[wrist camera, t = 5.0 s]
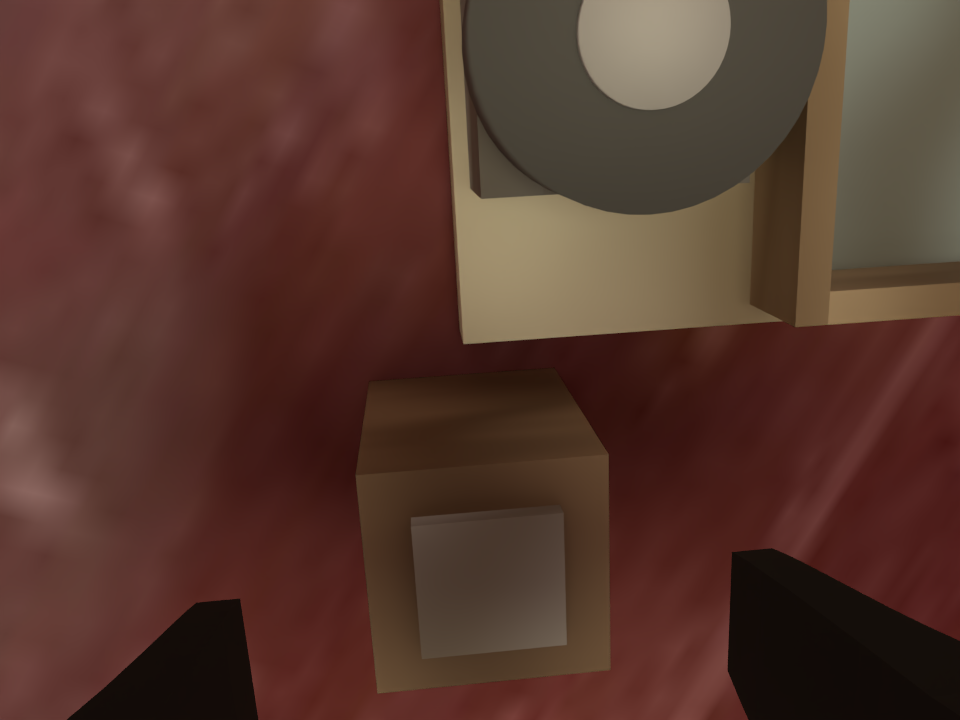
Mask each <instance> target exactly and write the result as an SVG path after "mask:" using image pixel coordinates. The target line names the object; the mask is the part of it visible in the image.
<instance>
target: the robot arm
mask: <svg viewBox="0 0 960 720" xmlns="http://www.w3.org/2000/svg"><path fill="white" fill-rule="evenodd" d="M728 672H729V675H730V677H731V680H732V682H733V685H734V687H735V689H736V692H737V694H738V697H739V699H740V701H741V704H742V706H743V708H744V711H745V713H746V715H747V717H748V719H749V720H960V641H958V640H956V639H954V638H952V637H950V636H947V635H945V634H943V633H941V632H939V631H937V630H934V629H932V628H930V627H928V626H926V625H924V624H922V623H919V622H917V621H915V620H913V619H911V618H909V617H907V616H905V615H903V614H901V613H899V612H897V611H895V610H893V609H891V608H889V607H887V606H885V605H883V604H881V603H879V602H877V601H875V600H874V599H872V598H870V597H868V596H866V595H864V594H862V593H860V592H858V591H856V590H854V589H852V588H851V587H849V586H847V585H845V584H843V583H841V582H839V581H837V580H835V579H834V578H832V577H830V576H828V575H826V574H824V573H822V572H820V571H818V570H816V569H815V568H813V567H811V566H809V565H807V564H805V563H803V562H801V561H799V560H797V559H795V558H793V557H791V556H789V555H786V554H784V553H782V552H779V551H777V550H775V549H772V548H771V549H761V550H750V551H740V552H732V569H731V596H730V622H729V649H728ZM67 720H258V715H257V708H256V702H255V695H254V689H253V682H252V675H251V669H250V662H249V656H248V649H247V642H246V636H245V629H244V623H243V616H242V609H241V603H240V599H232V600H221V601H211V602H200V603H196V604H194V605H193V606H192V607H191V608H190V609H189V610H187V611H186V612H185V613H184V614H183V615H182V616H181V617H180V618H179V619H178V620H177V621H175V622H174V623H173V624H172V625H171V626H170V627H169V628H168V629H167V630H166V631H165V632H164V633H163V634H162V635H161V636H160V637H159V638H158V639H157V640H155V641H154V642H153V643H152V644H151V645H150V646H149V647H148V648H147V649H146V650H145V651H144V652H143V653H142V654H141V655H140V656H138V657H137V658H136V659H135V660H134V661H133V662H132V663H131V664H130V665H129V666H128V667H127V668H125V669H124V670H123V671H122V672H121V673H120V674H119V675H118V676H117V677H116V678H115V679H114V680H113V681H111V682H110V683H109V684H108V685H107V686H106V687H105V688H104V689H103V690H101V691H100V692H99V693H98V694H97V695H95V696H94V697H93V698H92V699H91V700H90V701H88V702H87V703H86V704H85V705H84V706H82V707H81V708H80V709H79V710H78V711H77V712H75V713H74V714H73V715H72V716H71V717H69V718H68V719H67Z"/></svg>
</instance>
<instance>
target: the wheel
mask: <svg viewBox="0 0 960 720" xmlns="http://www.w3.org/2000/svg"><path fill="white" fill-rule="evenodd" d="M826 27H827V0H466V3H465V9H464V16H463V24H462V57H463V66H464V74H465V78H466V82H467V86H468V90H469V94H470V97H471V100H472V102H473V105H474V107H475V110H476V113H477V115H478V117H479V119H480V121H481V123H482V125H483V126H484V128H485V130H486V132H487V134H488V135H489V137H490V138H491V139H492V141H493V142H494V144H495V145H496V146H497V148H498V149H499V151H500V152H501V153H502V154H503V155H504V156H505V157H506V158H507V159H508V160H509V161H510V162H511V163H512V165H513V166H515V167H516V168H517V169H518V170H520V171H521V172H522V173H523V174H524V175H526V176H527V177H528V178H529V179H531V180H533V181H534V182H536V183H538V184H539V185H541V186H542V187H544V188H546V189H548V190H550V191H552V192H555V193H557V194H559V195H561V196H564V197H566V198H568V199H571V200H573V201H576V202H578V203H580V204H583V205H585V206H589V207H592V208H596V209H599V210H603V211H606V212H613V213H620V214H627V215H652V214H660V213H667V212H674V211H677V210H681V209H685V208H689V207H692V206H695V205H698V204H700V203H703V202H705V201H707V200H710V199H712V198H715V197H716V196H718V195H720V194H722V193H723V192H725V191H727V190H729V189H731V188H732V187H734V186H735V185H737V184H738V183H740V182H741V181H742V180H744V179H745V178H746V177H748V176H749V175H750V174H752V173H753V172H754V171H755V170H756V169H757V168H758V167H759V166H760V165H761V164H763V163H764V162H765V161H766V160H767V159H768V158H769V157H770V156H771V155H772V153H773V152H774V151H775V150H776V149H777V147H778V146H779V145H780V144H781V143H782V141H783V140H784V139H785V138H786V136H787V135H788V133H789V132H790V130H791V129H792V127H793V126H794V124H795V123H796V121H797V119H798V118H799V116H800V114H801V112H802V110H803V108H804V106H805V104H806V102H807V100H808V98H809V96H810V93H811V91H812V88H813V85H814V82H815V80H816V77H817V74H818V71H819V67H820V63H821V59H822V54H823V50H824V44H825V36H826Z"/></svg>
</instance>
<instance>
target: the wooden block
mask: <svg viewBox="0 0 960 720" xmlns="http://www.w3.org/2000/svg"><path fill="white" fill-rule="evenodd" d="M355 476H356V486H357V496H358V506H359V516H360V525H361V535H362V545H363V555H364V565H365V575H366V585H367V595H368V605H369V614H370V624H371V634H372V644H373V654H374V664H375V674H376V684H377V694H378V693H388V692H398V691H408V690H417V689H427V688H437V687H447V686H457V685H467V684H477V683H486V682H496V681H506V680H516V679H526V678H536V677H546V676H555V675H565V674H575V673H585V672H595V671H605V670H610V560H609V454H608V453H607V451H606V450H605V448H604V446H603V445H602V443H601V442H600V440H599V438H598V437H597V435H596V434H595V432H594V430H593V429H592V427H591V426H590V424H589V422H588V421H587V419H586V418H585V416H584V414H583V413H582V411H581V410H580V408H579V406H578V405H577V403H576V402H575V400H574V399H573V397H572V395H571V394H570V392H569V391H568V389H567V387H566V386H565V384H564V383H563V381H562V379H561V378H560V376H559V375H558V373H557V371H556V370H555V368H542V369H528V370H515V371H501V372H488V373H474V374H461V375H447V376H434V377H420V378H407V379H393V380H380V381H369V386H368V393H367V400H366V406H365V413H364V420H363V427H362V434H361V441H360V448H359V454H358V461H357V468H356V475H355Z"/></svg>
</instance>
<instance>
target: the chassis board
mask: <svg viewBox="0 0 960 720" xmlns="http://www.w3.org/2000/svg"><path fill="white" fill-rule="evenodd" d="M465 3H466V0H440V14H441V31H442V47H443V64H444V80H445V97H446V113H447V130H448V146H449V163H450V179H451V196H452V212H453V229H454V245H455V261H456V278H457V294H458V311H459V327H460V333H461V337H462V341H463V344H473V343H487V342H501V341H515V340H528V339H542V338H556V337H570V336H584V335H598V334H611V333H625V332H639V331H653V330H667V329H680V328H694V327H708V326H722V325H736V324H749V323H763V322H777V321H784V322H786V323H788V324H790V325H792V326H794V327H805V326H818V325H832V324H846V323H860V322H873V321H887V320H901V319H914V318H928V317H942V316H956V315H960V0H827V27H826V36H825V44H824V50H823V54H822V59H821V63H820V67H819V71H818V74H817V77H816V80H815V82H814V85H813V88H812V91H811V93H810V96H809V98H808V100H807V102H806V104H805V106H804V108H803V110H802V112H801V114H800V116H799V118H798V119H797V121H796V123H795V124H794V126H793V127H792V129H791V130H790V132H789V133H788V135H787V136H786V138H785V139H784V140H783V141H782V143H781V144H780V145H779V146H778V147H777V149H776V150H775V151H774V152H773V153H772V155H771V156H770V157H769V158H768V159H767V160H766V161H765V162H764V163H763V164H761V165H760V166H759V167H758V168H757V169H756V170H755V171H754V172H753V173H752V174H750V175H749V176H748V177H746V178H745V179H744V180H742V181H741V182H740V183H738V184H737V185H735V186H734V187H732V188H731V189H729V190H727V191H725V192H723V193H722V194H720V195H718V196H716V197H715V198H712V199H710V200H707V201H705V202H703V203H700V204H698V205H695V206H692V207H689V208H685V209H681V210H677V211H674V212H667V213H660V214H652V215H627V214H620V213H613V212H606V211H603V210H599V209H596V208H592V207H589V206H585V205H583V204H580V203H578V202H576V201H573V200H571V199H568V198H566V197H564V196H561V195H559V194H557V193H555V192H552V191H550V190H548V189H546V188H544V187H542V186H541V185H539V184H538V183H536V182H534V181H533V180H531V179H529V178H528V177H527V176H526V175H524V174H523V173H522V172H521V171H520V170H518V169H517V168H516V167H515V166H513V165H512V163H511V162H510V161H509V160H508V159H507V158H506V157H505V156H504V155H503V154H502V153H501V152H500V151H499V149H498V148H497V146H496V145H495V144H494V142H493V141H492V139H491V138H490V137H489V135H488V134H487V132H486V130H485V128H484V126H483V125H482V123H481V121H480V119H479V117H478V115H477V113H476V110H475V107H474V105H473V102H472V100H471V97H470V94H469V90H468V86H467V82H466V78H465V74H464V66H463V57H462V24H463V16H464V9H465Z"/></svg>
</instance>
